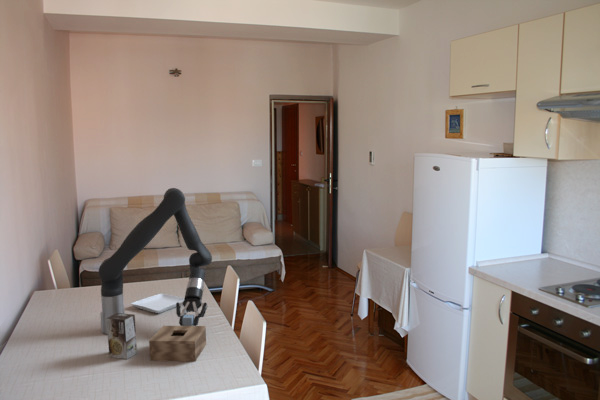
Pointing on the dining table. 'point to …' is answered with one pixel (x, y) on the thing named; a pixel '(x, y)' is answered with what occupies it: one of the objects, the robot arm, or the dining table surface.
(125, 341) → the coffee box
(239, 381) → the dining table surface
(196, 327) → the wooden socket block
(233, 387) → the dining table surface
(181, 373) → the dining table surface
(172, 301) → the salad plate
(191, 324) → the slate peg
